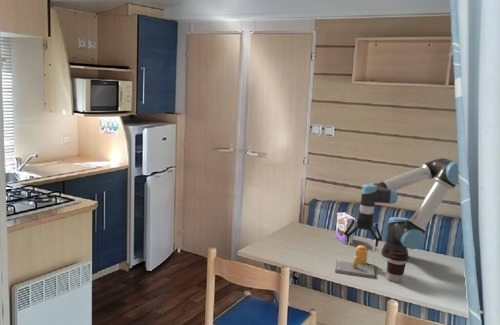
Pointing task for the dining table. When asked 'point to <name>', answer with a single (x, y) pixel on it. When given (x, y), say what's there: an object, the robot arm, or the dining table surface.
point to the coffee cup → (396, 265)
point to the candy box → (344, 227)
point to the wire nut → (361, 254)
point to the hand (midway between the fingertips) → (361, 249)
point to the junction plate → (355, 268)
